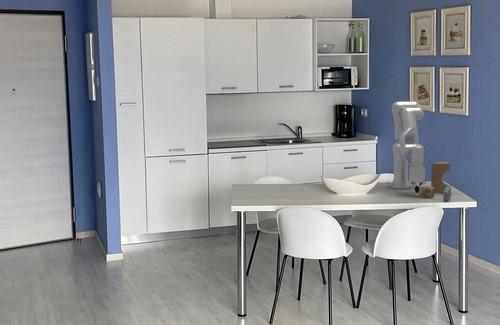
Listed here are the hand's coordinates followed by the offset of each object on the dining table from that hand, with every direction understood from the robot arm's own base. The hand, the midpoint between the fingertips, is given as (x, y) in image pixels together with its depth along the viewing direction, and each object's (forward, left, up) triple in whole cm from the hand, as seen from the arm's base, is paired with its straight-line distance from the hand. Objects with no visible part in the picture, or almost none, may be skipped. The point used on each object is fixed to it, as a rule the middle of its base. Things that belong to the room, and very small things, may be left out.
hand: (416, 192), depth 451 cm
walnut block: (+6, 0, -3) cm, 7 cm away
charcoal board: (+19, 0, -3) cm, 19 cm away
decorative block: (+13, +19, -3) cm, 23 cm away
